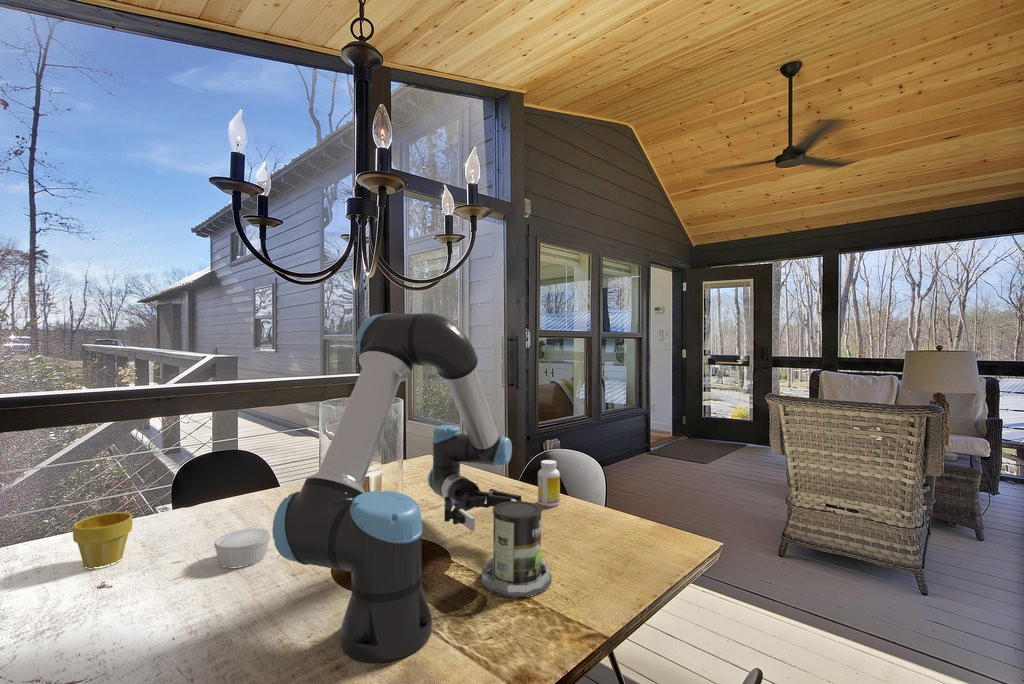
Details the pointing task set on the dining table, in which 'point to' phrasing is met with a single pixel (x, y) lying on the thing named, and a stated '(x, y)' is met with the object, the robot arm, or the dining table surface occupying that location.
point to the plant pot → (102, 538)
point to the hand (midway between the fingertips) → (500, 518)
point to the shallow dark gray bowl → (515, 588)
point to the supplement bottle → (548, 484)
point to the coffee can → (517, 542)
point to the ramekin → (242, 547)
